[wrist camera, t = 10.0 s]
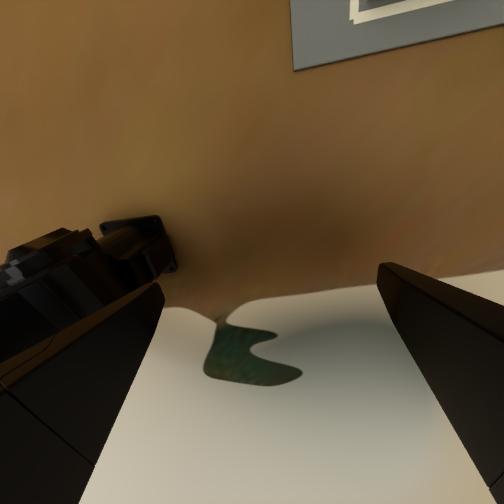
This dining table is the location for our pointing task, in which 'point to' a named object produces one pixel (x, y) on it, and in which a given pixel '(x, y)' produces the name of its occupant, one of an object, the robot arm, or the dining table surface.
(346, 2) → the slate mat
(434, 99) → the dining table surface
